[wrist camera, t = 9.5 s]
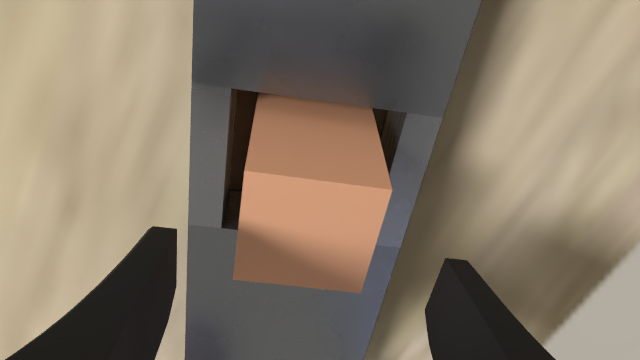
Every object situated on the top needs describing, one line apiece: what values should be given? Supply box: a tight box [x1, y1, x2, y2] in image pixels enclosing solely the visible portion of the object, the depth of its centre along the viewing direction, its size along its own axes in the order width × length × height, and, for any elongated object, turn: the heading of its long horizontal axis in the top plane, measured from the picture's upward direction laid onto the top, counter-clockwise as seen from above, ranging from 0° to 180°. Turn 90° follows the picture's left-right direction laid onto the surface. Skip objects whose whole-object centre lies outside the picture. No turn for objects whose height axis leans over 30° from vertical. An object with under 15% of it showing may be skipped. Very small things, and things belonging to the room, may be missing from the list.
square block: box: [233, 92, 392, 293], centre depth 17 cm, size 4×4×6 cm
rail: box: [185, 0, 482, 360], centre depth 19 cm, size 24×8×2 cm, turn 171°
